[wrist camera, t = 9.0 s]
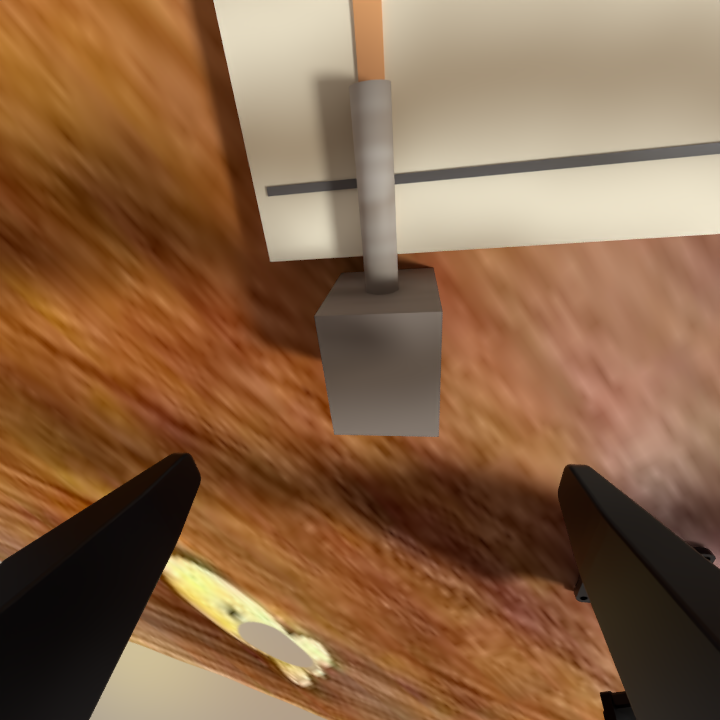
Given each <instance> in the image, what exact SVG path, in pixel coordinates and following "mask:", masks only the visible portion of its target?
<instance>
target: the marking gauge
mask: <svg viewBox="0 0 720 720" xmlns="http://www.w3.org/2000/svg"><path fill="white" fill-rule="evenodd" d="M349 95H350V107H351V119H352V131H353V142H354V154H355V166H356V178H357V189H358V201H359V213H360V224H361V236H362V248H363V260H364V271H365V272H347V273H341V275H340V276H339V278H338V279H337V281H336V283H335V284H334V286H333V287H332V289H331V291H330V292H329V294H328V295H327V297H326V298H325V300H324V302H323V303H322V305H321V306H320V308H319V310H318V311H317V313H316V314H315V316H314V317H315V323H316V329H317V335H318V341H319V347H320V353H321V359H322V364H323V370H324V376H325V382H326V388H327V394H328V400H329V406H330V412H331V418H332V423H333V429H334V435H380V436H426V437H439V410H440V377H441V344H442V307H441V302H440V297H439V292H438V287H437V282H436V277H435V273H434V268H419V269H401V270H398V262H397V234H396V207H395V179H394V152H393V124H392V97H391V81H389V80H382V79H379V80H367V81H362V82H358V83H354V84H352V85H350V86H349Z"/></svg>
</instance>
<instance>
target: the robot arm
mask: <svg viewBox="0 0 720 720" xmlns="http://www.w3.org/2000/svg"><path fill="white" fill-rule="evenodd" d="M200 481H201V476H200V472H199V470H198V468H197V466H196V464H195V462H194V460H193V457H192V456H191V455H190V454H189V453H173V454H170V455H169V456H167V457H166V458H164V459H163V460H161V461H159V462H158V463H156V464H155V465H153V466H152V467H150V468H148V469H147V470H145V471H144V472H142V473H141V474H139V475H137V476H136V477H134V478H133V479H131V480H129V481H128V482H126V483H125V484H123V485H122V486H120V487H118V488H117V489H115V490H114V491H112V492H111V493H109V494H107V495H106V496H104V497H103V498H101V499H100V500H98V501H96V502H95V503H93V504H92V505H90V506H89V507H87V508H85V509H84V510H82V511H81V512H79V513H78V514H76V515H74V516H73V517H71V518H70V519H68V520H67V521H65V522H63V523H62V524H60V525H59V526H57V527H55V528H54V529H52V530H51V531H49V532H48V533H46V534H44V535H43V536H41V537H40V538H38V539H37V540H35V541H33V542H32V543H30V544H29V545H27V546H26V547H24V548H22V549H21V550H19V551H18V552H16V553H15V554H13V555H11V556H10V557H8V558H7V559H5V560H4V561H3V562H2V563H1V564H0V720H89V719H90V717H91V715H92V713H93V711H94V709H95V707H96V705H97V703H98V701H99V699H100V697H101V695H102V693H103V691H104V689H105V687H106V685H107V683H108V681H109V679H110V677H111V674H112V673H113V670H114V669H115V667H116V664H117V663H118V661H119V659H120V657H121V654H122V653H123V650H124V649H125V647H126V645H127V643H128V641H129V639H130V637H131V635H132V632H133V630H134V628H135V626H136V624H137V622H138V620H139V618H140V616H141V614H142V612H143V610H144V608H145V606H146V604H147V602H148V600H149V598H150V596H151V594H152V592H153V590H154V588H155V586H156V584H157V582H158V580H159V578H160V576H161V574H162V572H163V570H164V568H165V566H166V564H167V562H168V560H169V558H170V556H171V554H172V552H173V550H174V548H175V546H176V543H177V541H178V539H179V536H180V534H181V532H182V529H183V527H184V524H185V521H186V519H187V516H188V514H189V511H190V508H191V506H192V503H193V501H194V498H195V496H196V493H197V490H198V488H199V485H200ZM558 499H559V503H560V506H561V510H562V514H563V517H564V521H565V524H566V528H567V532H568V535H569V539H570V542H571V546H572V550H573V553H574V557H575V560H576V564H577V567H578V570H579V573H580V578H579V580H578V583H577V585H576V588H575V590H574V595H575V597H576V599H577V600H578V601H580V602H588V603H591V605H592V607H593V610H594V612H595V615H596V618H597V620H598V623H599V625H600V628H601V630H602V633H603V635H604V638H605V640H606V643H607V645H608V648H609V651H610V653H611V656H612V658H613V661H614V663H615V666H616V668H617V671H618V673H619V676H620V679H621V681H622V684H623V686H624V689H625V691H623V692H616V693H612V692H611V691H606V692H600V696H601V700H602V704H603V708H604V711H603V714H604V718H605V720H720V569H719V568H718V567H716V566H715V565H714V564H713V562H714V561H715V559H716V558H715V556H714V555H713V553H712V552H711V551H710V550H709V549H707V548H699V547H691V546H690V545H689V544H687V543H686V542H685V541H684V540H682V539H681V538H680V537H678V536H677V535H676V534H675V533H673V532H672V531H671V530H670V529H668V528H667V527H666V526H665V525H663V524H662V523H661V522H659V521H658V520H657V519H656V518H654V517H653V516H652V515H651V514H649V513H648V512H647V511H646V510H644V509H643V508H642V507H640V506H639V505H638V504H637V503H635V502H634V501H633V500H632V499H630V498H629V497H628V496H627V495H625V494H624V493H623V492H621V491H620V490H619V489H618V488H616V487H615V486H614V485H613V484H611V483H610V482H609V481H608V480H606V479H605V478H604V477H603V476H601V475H600V474H599V473H597V472H596V471H595V470H594V469H592V468H591V467H589V466H587V465H575V464H569V465H567V466H566V467H565V468H564V471H563V474H562V478H561V481H560V485H559V488H558Z"/></svg>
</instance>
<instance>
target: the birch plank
mask: <svg viewBox="0 0 720 720" xmlns="http://www.w3.org/2000/svg"><path fill="white" fill-rule="evenodd" d="M213 1H214V6H215V10H216V15H217V20H218V24H219V29H220V33H221V38H222V43H223V47H224V52H225V56H226V61H227V65H228V70H229V75H230V79H231V84H232V88H233V93H234V98H235V102H236V107H237V111H238V116H239V120H240V125H241V130H242V134H243V139H244V143H245V148H246V153H247V157H248V162H249V166H250V171H251V175H252V180H253V185H254V189H255V194H256V198H257V203H258V208H259V212H260V217H261V221H262V226H263V230H264V235H265V240H266V244H267V249H268V253H269V258H270V262H276V261H292V260H308V259H323V258H339V257H355V256H363V248H362V236H361V224H360V213H359V201H358V189H357V178H356V166H355V154H354V142H353V131H352V119H351V107H350V95H349V86H350V85H352V84H354V83H358V82H362V81H367V80H379V79H382V80H389V81H391V97H392V124H393V152H394V179H395V207H396V234H397V254H403V253H419V252H435V251H451V250H467V249H483V248H499V247H515V246H531V245H547V244H563V243H579V242H595V241H611V240H627V239H643V238H659V237H675V236H691V235H707V234H720V0H213Z"/></svg>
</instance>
